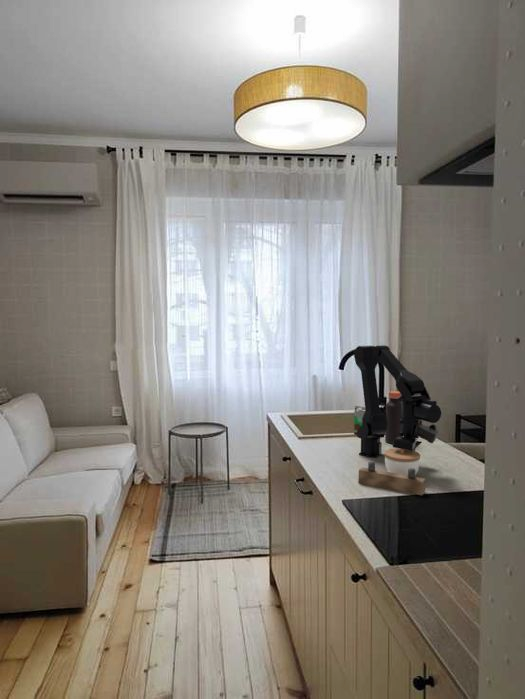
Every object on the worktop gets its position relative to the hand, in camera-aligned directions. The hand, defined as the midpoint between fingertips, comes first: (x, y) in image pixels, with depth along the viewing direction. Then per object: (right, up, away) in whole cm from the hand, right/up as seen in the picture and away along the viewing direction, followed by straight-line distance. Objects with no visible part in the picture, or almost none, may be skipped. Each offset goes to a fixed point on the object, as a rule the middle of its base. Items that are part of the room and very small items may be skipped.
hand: (409, 463), depth 164 cm
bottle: (+4, 0, +35) cm, 35 cm away
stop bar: (-10, -3, -16) cm, 19 cm away
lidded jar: (-5, -3, -7) cm, 9 cm away
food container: (-6, +2, +51) cm, 52 cm away
